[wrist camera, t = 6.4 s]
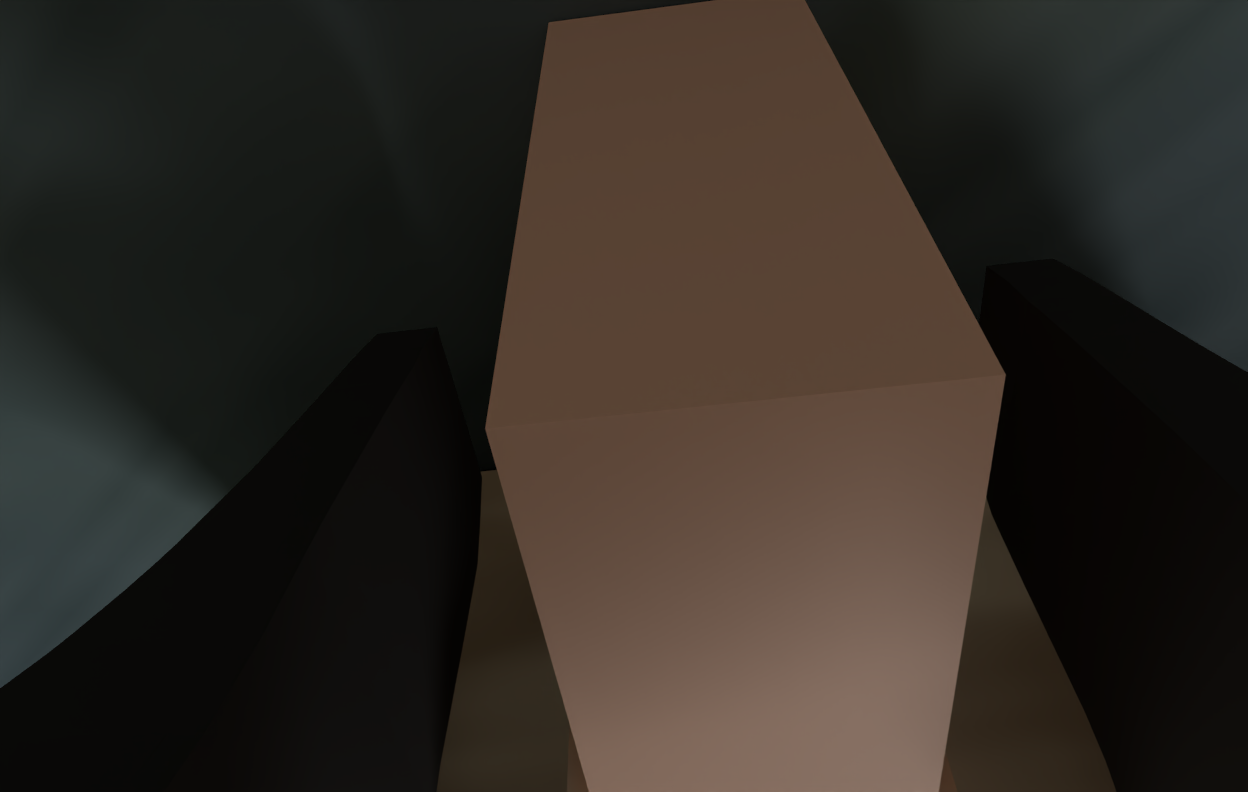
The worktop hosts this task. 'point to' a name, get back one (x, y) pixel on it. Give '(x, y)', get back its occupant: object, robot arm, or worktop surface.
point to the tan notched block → (979, 725)
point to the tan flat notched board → (737, 413)
